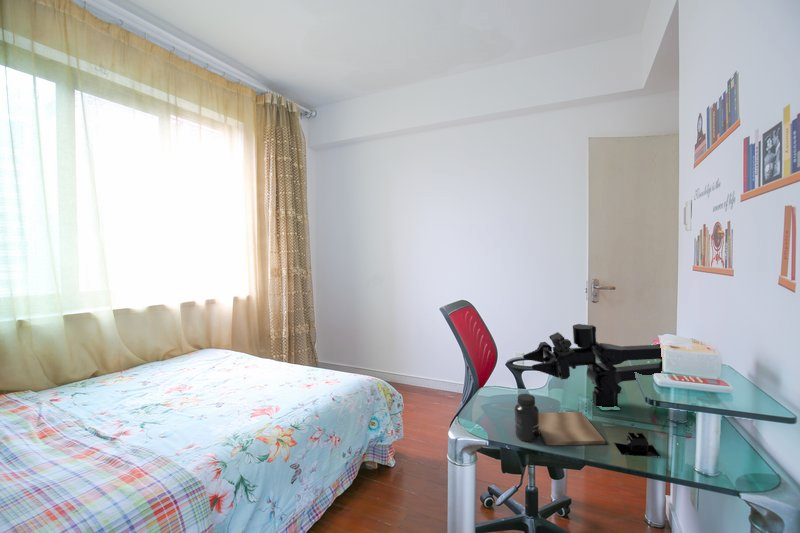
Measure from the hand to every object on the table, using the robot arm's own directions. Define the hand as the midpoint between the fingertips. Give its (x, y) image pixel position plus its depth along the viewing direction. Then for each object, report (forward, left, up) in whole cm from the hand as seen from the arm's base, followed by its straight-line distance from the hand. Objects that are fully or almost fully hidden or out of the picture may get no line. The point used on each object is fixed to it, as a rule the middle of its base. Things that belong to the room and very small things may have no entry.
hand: (527, 361), depth 123 cm
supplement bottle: (+5, +15, -17) cm, 23 cm away
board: (-7, +12, -17) cm, 22 cm away
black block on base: (-22, +23, -18) cm, 37 cm away
